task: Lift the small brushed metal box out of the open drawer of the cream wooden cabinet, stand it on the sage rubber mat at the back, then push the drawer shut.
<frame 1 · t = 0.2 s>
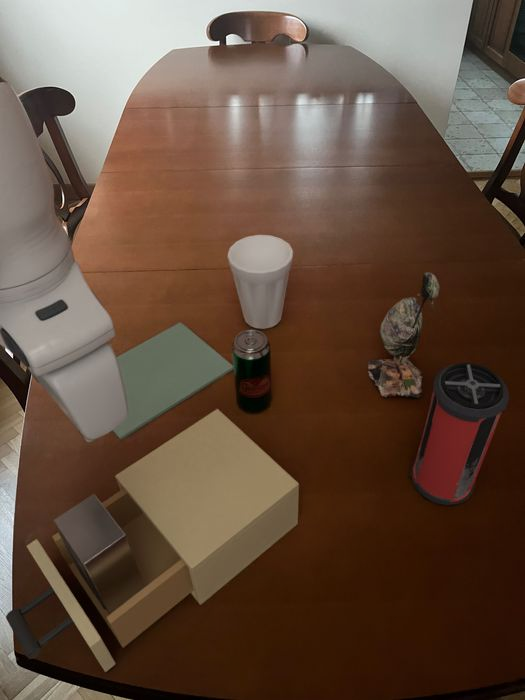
hand: (67, 404, 55), 23 cm above the table, tool pointing down, fingers open, 8 cm apart
cabinet: (212, 519, 71), on the table
mat: (153, 376, 89), on the table
cup: (262, 318, 98), on the table
drawer: (102, 580, 62), point 4 cm above the table, slide at 10.0 cm, touching brushed metal box
brushed metal box: (114, 583, 64), point 2 cm above the table, touching drawer
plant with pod: (394, 374, 88), on the table
speaker: (441, 480, 75), on the table
soda can: (254, 402, 85), on the table
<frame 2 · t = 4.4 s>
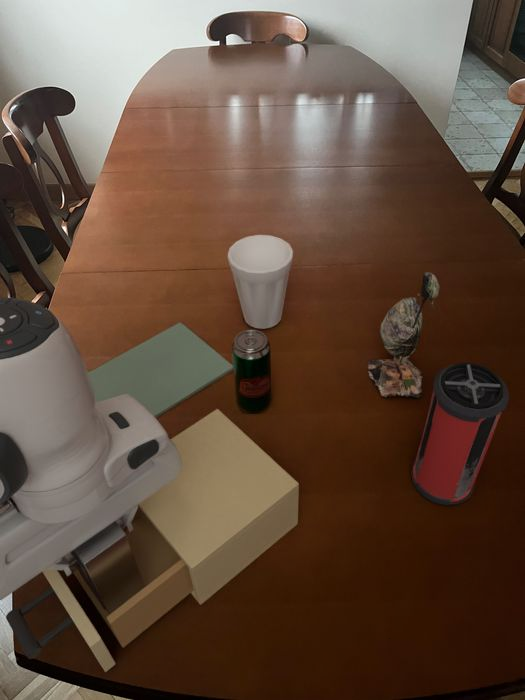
hand: (98, 547, 58), 10 cm above the table, tool pointing down, fingers closed on brushed metal box, 4 cm apart
brushed metal box: (114, 583, 64), point 2 cm above the table, touching drawer, gripper
everything else where it was.
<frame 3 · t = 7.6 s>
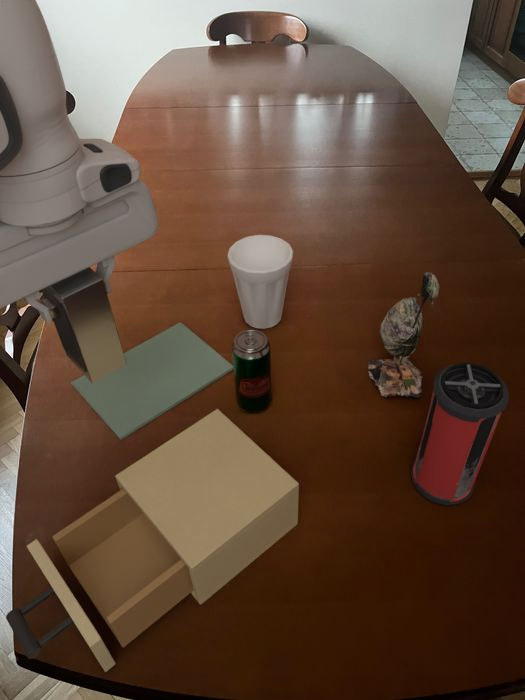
hand: (77, 304, 61), 26 cm above the table, tool pointing down, fingers closed on brushed metal box, 4 cm apart
drawer: (102, 580, 62), point 4 cm above the table, slide at 10.0 cm
brushed metal box: (96, 359, 67), point 18 cm above the table, touching gripper
everything else where it was.
when the fingers open (9 cm above the table, at t = 11.2 s): brushed metal box stays where it is, resting on mat.
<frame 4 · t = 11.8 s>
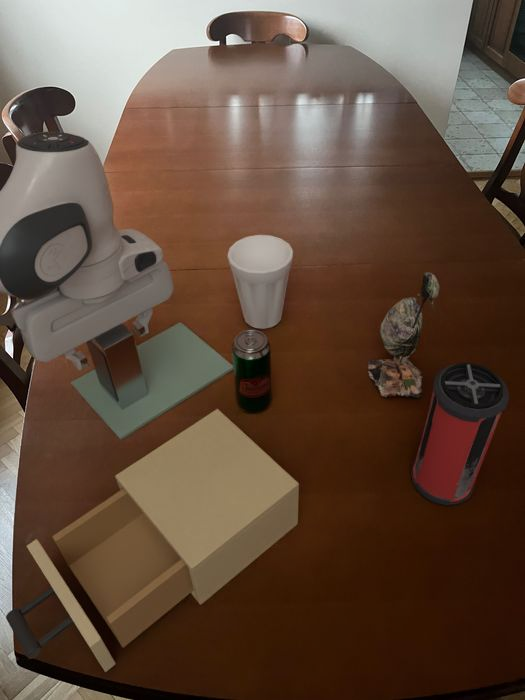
hand: (112, 349, 80), 9 cm above the table, tool pointing down, fingers open, 8 cm apart
brushed metal box: (124, 391, 86), point 1 cm above the table, touching mat
everything else where it was.
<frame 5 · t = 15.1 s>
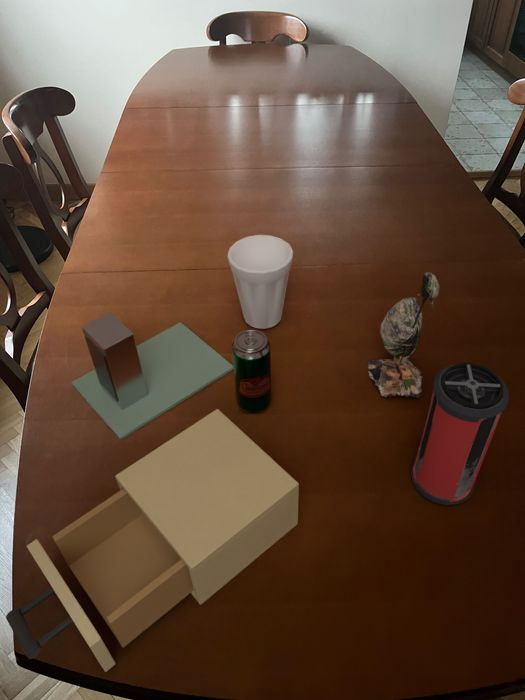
nothing on the table moved.
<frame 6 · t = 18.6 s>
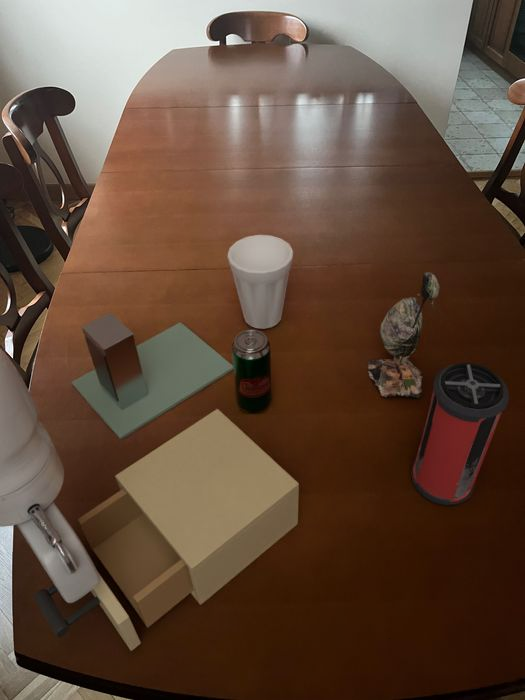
hand: (52, 547, 64), 5 cm above the table, tool pointing down, fingers closed, pressing on drawer
drawer: (126, 562, 63), point 4 cm above the table, slide at 7.0 cm, touching gripper
everything else where it was.
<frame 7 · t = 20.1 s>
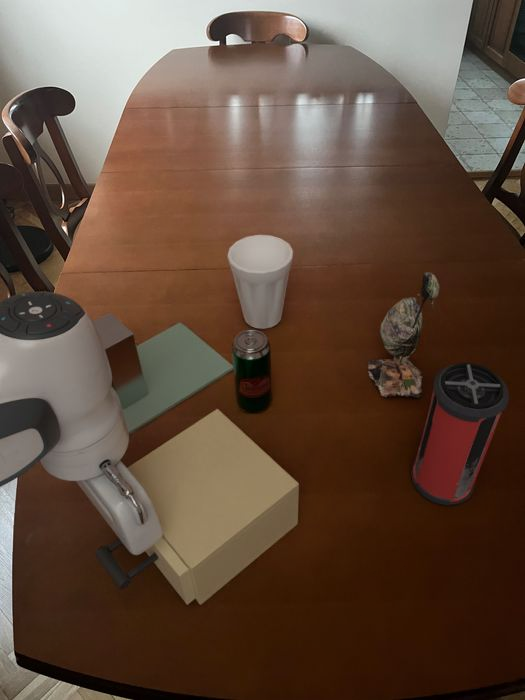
hand: (109, 509, 68), 5 cm above the table, tool pointing down, fingers closed, pressing on drawer
drawer: (179, 522, 66), point 4 cm above the table, slide at 0.0 cm, touching cabinet, gripper
everything else where it was.
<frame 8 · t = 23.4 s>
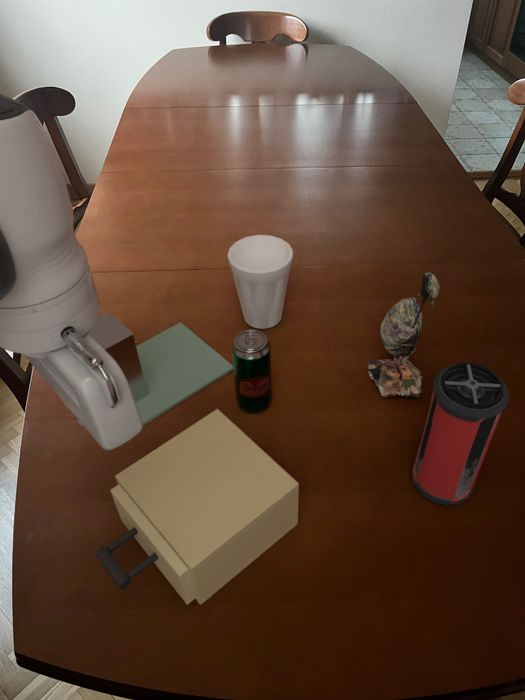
hand: (82, 413, 56), 21 cm above the table, tool pointing down, fingers closed
drawer: (179, 522, 66), point 4 cm above the table, slide at 0.0 cm, touching cabinet
everything else where it was.
at the end: brushed metal box inside the target area on the mat (5.0 cm from its centre), point 0.6 cm above the mat's base; brushed metal box tilted 0°; drawer slide at 0.0 cm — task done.
